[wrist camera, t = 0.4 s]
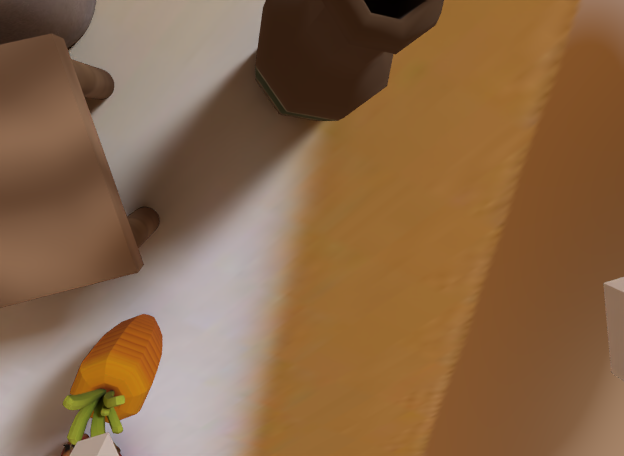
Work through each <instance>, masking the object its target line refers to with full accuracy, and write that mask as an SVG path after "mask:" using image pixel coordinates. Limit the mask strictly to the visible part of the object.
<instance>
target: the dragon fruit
mask: <svg viewBox="0 0 624 456" xmlns="http://www.w3.org/2000/svg"><path fill="white" fill-rule="evenodd" d="M88 438H90V437H89V436H88V434H83V437H82V439H81V440H84V439H88ZM113 443H114V442H113ZM114 445H115V443H114ZM64 446H65V447H64V449H63V451H62V454H61V456H70V454H71V452H72V450H73V449H74V447H75V445H73V444H71V443H70V442H68V445H67V444H66V445H64ZM115 448H116V450H117V452H118V454H119V456H122V455H121V454H120V449H119V447H117V446H116V445H115Z"/></svg>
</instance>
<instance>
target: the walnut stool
mask: <svg viewBox="0 0 624 456" xmlns="http://www.w3.org/2000/svg"><path fill="white" fill-rule="evenodd" d="M113 90H114V81H113V79H112V77H111V75H110V74H109V73H108V72H106V71H104V70H102V69H99V68H96V67H93V66H90V65H87V64H84V63H81V62H78V61H75V60H72V59H71V58H70V55H69V52H68V49H67V46H66V44H65V41H64V38H61V37H59V36H57V35H54V34H52V33H51V34H46V35H42V36H37V37H33V38H28V39H24V40H19V41H15V42H10V43H5V44H1V45H0V308H1V307H5V306H9V305H13V304H17V303H21V302H25V301H29V300H33V299H37V298H40V297H44V296H48V295H52V294H56V293H60V292H64V291H68V290H72V289H76V288H79V287H83V286H87V285H91V284H95V283H99V282H103V281H107V280H111V279H115V278H118V277H122V276H126V275H130V274H134V273H138V272H139V270H140V269H141V268H142V266H143V265H144V264H143V261H142V258H141V255H140V253H139V250H138V248H139V247H140V246H141V245H142V244H143V243H144V242H145V240H146V239H147V238H148V237H149V236H150V235H151V234H152V233H153V232H154V231H155V230H156V229H157V227H158V226H159V216H158V214H157V213H156V212H155V211H154V210H153V209H151V208H148V207H141V208H139V209H137V210H136V211H134V212H133V213H132V214H130V215H129V216H126V213H125V210H124V207H123V205H122V202H121V199H120V196H119V193H118V190H117V188H116V185H115V182H114V179H113V176H112V174H111V171H110V168H109V165H108V162H107V159H106V157H105V154H104V151H103V148H102V145H101V142H100V140H99V137H98V134H97V131H96V128H95V126H94V123H93V120H92V117H91V114H90V111H89V109H88V106H87V103H86V100H85V97H89V98H96V99H105V98H107V97H109V96H110V95H111V94H112V92H113Z"/></svg>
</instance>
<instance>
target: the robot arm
mask: <svg viewBox="0 0 624 456" xmlns="http://www.w3.org/2000/svg"><path fill="white" fill-rule="evenodd" d="M604 294H605V306H606V316H607V329H608V340H609V351H610V363H611V372H612V373H613V374H614V375H616V376H617V377H618V378H620V379H621V380H623V381H624V277H622V278H619V279H616V280H612V281H609V282H605V283H604ZM70 456H119V454H118V452H117V450H116V448H115V445H114V443H113V441H112V439H111V437H110V434H109V432H108V433H104V434H101V435H98V436H94V437H91V438H88V439H84V440H81V441H78V442H77V443H76V445H75V447H74V449H73V450H72V452H71V454H70Z"/></svg>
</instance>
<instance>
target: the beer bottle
mask: <svg viewBox="0 0 624 456" xmlns="http://www.w3.org/2000/svg"><path fill="white" fill-rule="evenodd" d="M443 1H444V0H266V2H265V4H264V7H263V12H262V20H261V27H260V34H259V42H258V49H257V57H256V64H255V73H256V81H257V83H258V84H259V86H260V87H261V89H262V90H263V91H264V93H265V94H266V96H267V97H268V99H269V100H270V101H271V103H272V104H273V106H274V107H275V109H276V110H277V111H278V113H279V114H282V115H288V116H293V117H299V118H304V119H310V120H316V121H338V120H340V119H342V118H344V117H345V116H347V115H348V114H349V113H351V112H352V111H354V110H355V109H356V108H358V107H359V106H360V105H362V104H363V103H364V102H366V101H367V100H369V99H370V98H371V97H373V96H374V95H375V94H377V93H378V92H379V91H381V90H382V89H384V88H385V87H386V86H387V83H388V78H389V73H390V68H391V63H392V58H393V54H397V53H398V52H399V51H401V50H402V49H403V48H405V47H406V46H408V45H409V44H410V43H412V42H413V41H414V40H416V39H417V38H418V37H420V36H421V35H423V34H424V33H425V32H427V31H428V30H429V29H431V28H432V27H433V26H435V25H436V23H437V21H438V19H439V16H440V14H441V11H442V6H443Z"/></svg>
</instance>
